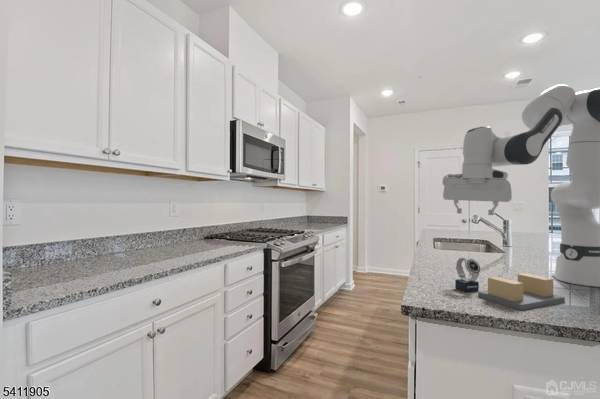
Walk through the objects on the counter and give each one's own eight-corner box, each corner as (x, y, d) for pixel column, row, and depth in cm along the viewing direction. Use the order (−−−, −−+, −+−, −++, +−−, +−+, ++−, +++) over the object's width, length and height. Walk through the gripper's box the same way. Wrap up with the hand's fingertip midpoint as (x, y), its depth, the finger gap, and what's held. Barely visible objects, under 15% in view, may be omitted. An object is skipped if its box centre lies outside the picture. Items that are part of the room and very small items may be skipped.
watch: (469, 293, 98) (469, 260, 98) (451, 287, 106) (451, 256, 106) (483, 292, 99) (483, 259, 99) (464, 286, 107) (465, 255, 107)
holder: (519, 290, 102) (519, 271, 102) (564, 302, 90) (564, 280, 90) (478, 296, 95) (478, 276, 95) (520, 310, 83) (521, 286, 83)
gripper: (442, 173, 105) (440, 212, 105) (513, 173, 95) (511, 216, 95) (443, 174, 110) (441, 212, 110) (510, 175, 101) (508, 215, 101)
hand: (474, 214), depth 102 cm, fingers open, 8 cm apart
